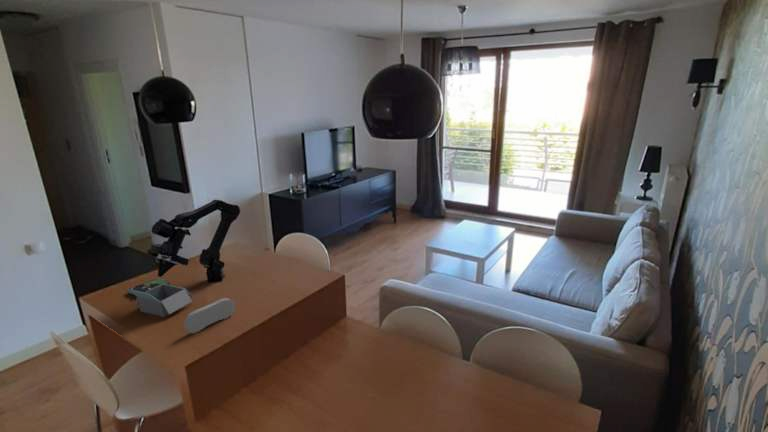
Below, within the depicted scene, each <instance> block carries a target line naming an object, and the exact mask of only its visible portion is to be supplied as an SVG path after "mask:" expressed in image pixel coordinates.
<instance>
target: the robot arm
mask: <svg viewBox="0 0 768 432" xmlns="http://www.w3.org/2000/svg"><path fill="white" fill-rule="evenodd" d="M217 210H218V211H219V212H220V221H219V223H218V226H217V228H216V230H215V233H214V235H213V237H212V240H211V242H210V243H209V246H208V247H207V248H206V249H205V248H203V249H202V250H201V253H200V254H199V256H198V257H199V260H198V261H199V263H200V265H202V266H203V268H204V269H206V272H205V275H206V279H207V283H216V282H222V281H223V279H224V278H225V274H224V270H223V268H225V262H224V261H222V260H220V258H221V252H220V250H221V248H222V246H223V243H224V241H225V239H226V236H227V233H229V232H228V231H229V230H230V227H231V225H232V223H234V222H235V221H236V220H237V218H238V217H239V215H240V213H241V209H240V206H239V205H237V204H231V203H228V202H226V201H223V200H222V199H213V200H212V201H210V202H208V203H206V204H204V205H202V206H200V207H197V208H195V209H194V210H191V211H186V212H182V213H177V214H176V215H175V216H174V218H172V219H170V221H167V220H166V219H163V218H159V220H158V221H156V222H155V223H154V224H153V225H152V228H151V233H152V234H153V235H156V236H159V237H162V238H164V239H167V240H164V241H163V242H162V243H161V244H159V243H156V244H155V243H153V244H150V249H148V251H147V253H146V255H148V256H150V257H154V258H155V260H156V261H157V262H158V268H157V277H158V278H162V277H163V276H164V275H165V274H167V272H168V271H170V270H171V269H172V268H173V267H175V266H178V264H181V265H182V266H183V265H184V266H188V265H189V262H190V261H189V258H186V257H184V256H181V255H178V253H179V251H180V250H182V249H183V246H182V244H183V241H184V239H185V237H186V236H192V234H191V232H190V230H189V229H190V228H192V227H193V226H194V225H196V224H197V223H198V221H199V220H201V219H202V218H204V217H206V216H208V215H209V214H212V213H214V212H215V211H217ZM183 228H185V229H183Z"/></svg>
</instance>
